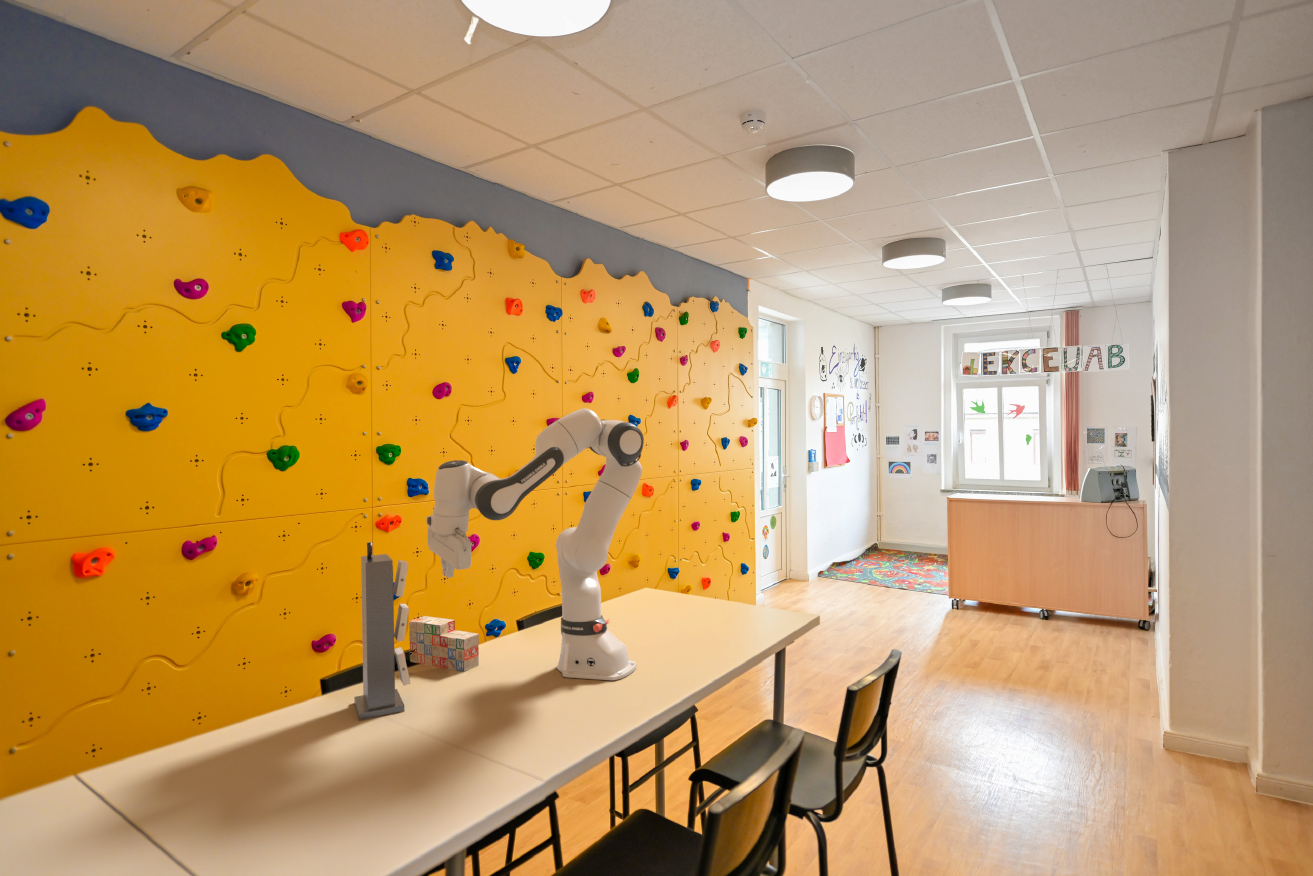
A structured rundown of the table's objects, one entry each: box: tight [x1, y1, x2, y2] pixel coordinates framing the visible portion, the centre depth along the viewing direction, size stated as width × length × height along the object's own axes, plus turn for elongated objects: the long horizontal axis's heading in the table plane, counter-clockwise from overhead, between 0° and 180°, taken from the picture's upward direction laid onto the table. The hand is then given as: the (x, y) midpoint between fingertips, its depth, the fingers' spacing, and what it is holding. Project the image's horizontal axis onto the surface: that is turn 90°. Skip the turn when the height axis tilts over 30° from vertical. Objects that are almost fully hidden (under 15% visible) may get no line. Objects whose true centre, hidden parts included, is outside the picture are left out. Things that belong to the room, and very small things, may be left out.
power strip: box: [353, 541, 406, 721], centre depth 164 cm, size 10×12×40 cm
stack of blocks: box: [408, 615, 480, 672], centre depth 195 cm, size 21×6×12 cm, turn 63°
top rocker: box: [393, 559, 409, 597], centre depth 166 cm, size 2×5×8 cm, turn 30°
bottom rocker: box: [394, 646, 411, 687], centre depth 166 cm, size 2×5×8 cm, turn 29°
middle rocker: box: [394, 603, 410, 642], centre depth 166 cm, size 2×5×8 cm, turn 29°
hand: (447, 576), depth 172 cm, fingers closed
